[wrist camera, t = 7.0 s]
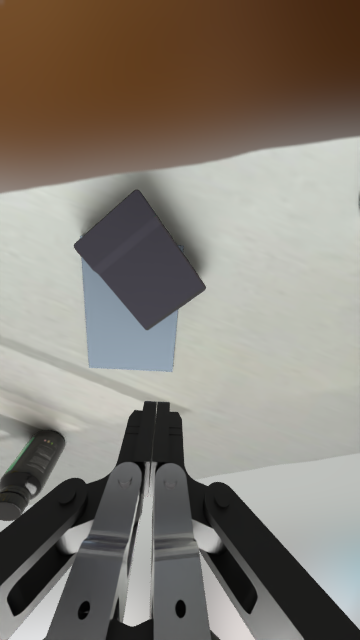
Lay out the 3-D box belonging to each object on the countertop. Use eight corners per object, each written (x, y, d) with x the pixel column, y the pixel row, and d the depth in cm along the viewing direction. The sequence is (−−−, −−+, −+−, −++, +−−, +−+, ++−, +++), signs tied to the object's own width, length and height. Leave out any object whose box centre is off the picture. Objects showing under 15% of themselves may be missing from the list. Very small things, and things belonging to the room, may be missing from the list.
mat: (183, 245, 30) (183, 245, 30) (172, 369, 38) (172, 371, 37) (81, 236, 29) (80, 235, 29) (90, 365, 36) (89, 367, 36)
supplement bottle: (26, 431, 41) (-28, 500, 30) (60, 426, 41) (17, 494, 30) (38, 455, 43) (-8, 527, 32) (70, 450, 43) (34, 522, 32)
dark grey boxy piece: (204, 284, 31) (143, 197, 28) (208, 289, 27) (137, 187, 24) (150, 323, 33) (86, 247, 30) (145, 333, 29) (71, 245, 26)
